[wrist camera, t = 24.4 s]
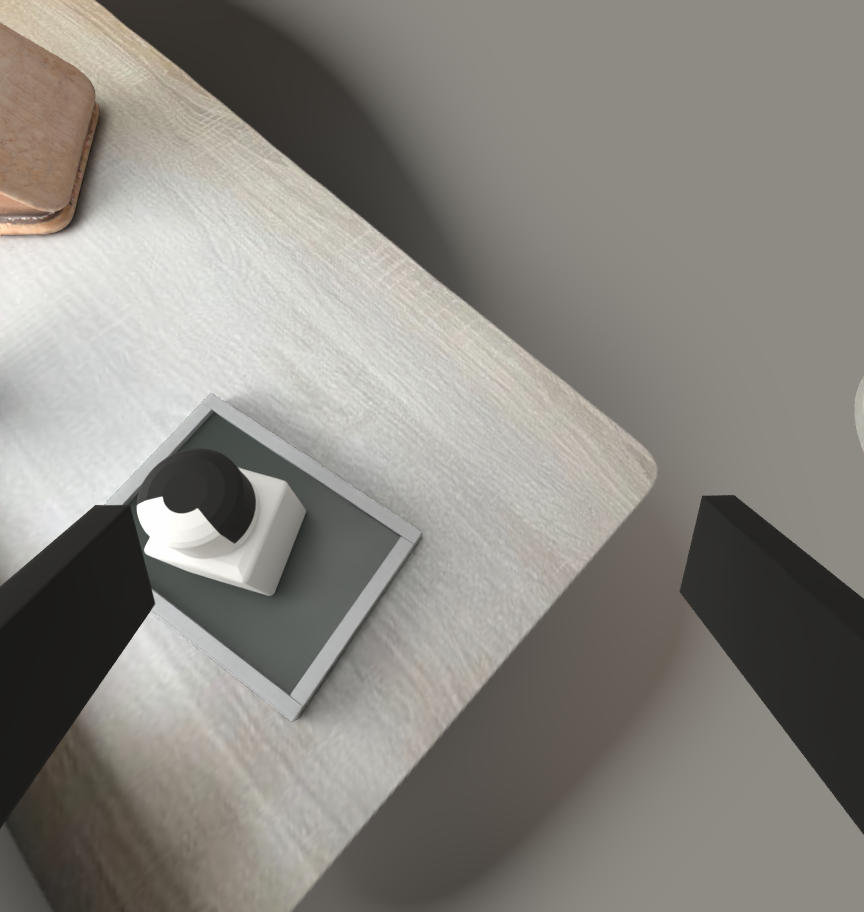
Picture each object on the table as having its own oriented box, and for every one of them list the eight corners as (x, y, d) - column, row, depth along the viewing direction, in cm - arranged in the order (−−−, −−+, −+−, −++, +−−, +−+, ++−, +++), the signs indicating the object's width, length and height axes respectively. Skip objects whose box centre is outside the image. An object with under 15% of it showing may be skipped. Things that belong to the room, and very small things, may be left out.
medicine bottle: (225, 486, 42) (156, 421, 31) (308, 509, 41) (269, 452, 30) (186, 571, 39) (95, 534, 28) (274, 597, 39) (217, 570, 28)
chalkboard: (422, 537, 42) (422, 531, 40) (298, 719, 37) (291, 722, 35) (219, 402, 46) (211, 391, 44) (81, 549, 41) (65, 544, 39)
